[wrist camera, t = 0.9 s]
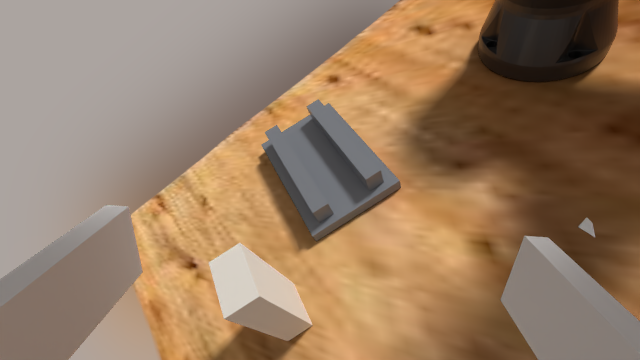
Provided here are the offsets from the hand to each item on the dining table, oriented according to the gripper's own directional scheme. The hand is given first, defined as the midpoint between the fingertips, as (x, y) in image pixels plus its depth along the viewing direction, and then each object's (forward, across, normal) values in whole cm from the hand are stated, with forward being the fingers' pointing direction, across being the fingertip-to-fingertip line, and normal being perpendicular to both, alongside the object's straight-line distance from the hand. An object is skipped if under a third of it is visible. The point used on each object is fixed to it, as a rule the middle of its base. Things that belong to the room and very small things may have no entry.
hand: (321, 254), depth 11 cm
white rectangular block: (+16, -3, -20) cm, 26 cm away
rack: (+31, 0, -9) cm, 33 cm away
